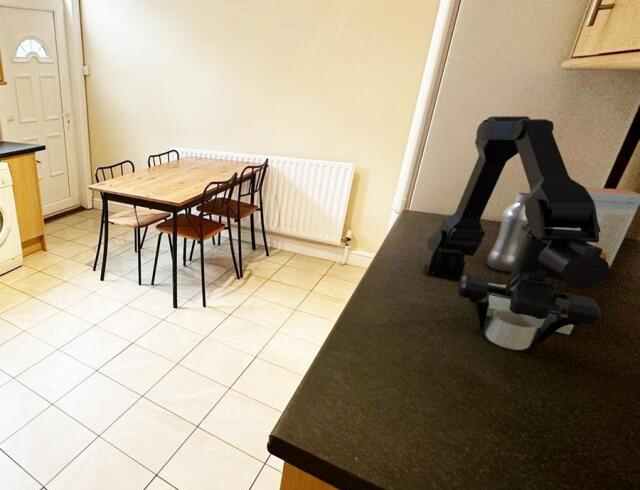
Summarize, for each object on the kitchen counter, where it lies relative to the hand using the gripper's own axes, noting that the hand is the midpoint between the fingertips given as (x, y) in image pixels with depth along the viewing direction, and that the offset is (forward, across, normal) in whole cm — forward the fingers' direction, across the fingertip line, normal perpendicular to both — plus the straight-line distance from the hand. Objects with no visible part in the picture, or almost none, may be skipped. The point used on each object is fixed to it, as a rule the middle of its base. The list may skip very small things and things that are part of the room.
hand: (508, 335), depth 79 cm
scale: (+1, +3, +16) cm, 16 cm away
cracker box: (+1, +14, +48) cm, 50 cm away
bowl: (+1, 0, 0) cm, 1 cm away
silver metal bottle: (+1, +1, +39) cm, 39 cm away
